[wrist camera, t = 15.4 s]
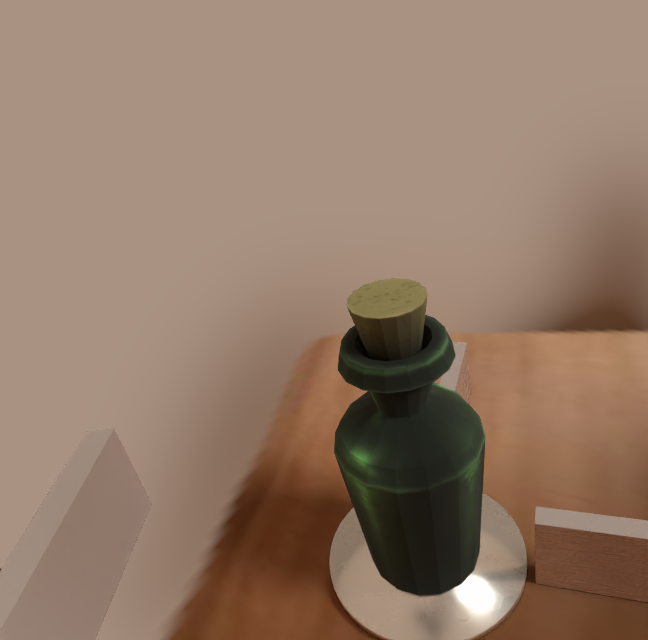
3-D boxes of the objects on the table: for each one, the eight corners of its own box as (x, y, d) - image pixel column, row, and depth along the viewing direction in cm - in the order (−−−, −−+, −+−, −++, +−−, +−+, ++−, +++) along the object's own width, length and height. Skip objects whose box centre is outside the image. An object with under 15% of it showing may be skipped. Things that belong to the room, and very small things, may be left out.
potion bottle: (375, 627, 33) (312, 363, 25) (349, 516, 40) (294, 280, 32) (516, 592, 34) (504, 318, 25) (466, 488, 41) (443, 246, 32)
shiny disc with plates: (463, 387, 51) (459, 338, 48) (774, 587, 32) (794, 522, 29) (265, 499, 44) (248, 448, 41) (511, 841, 25) (507, 784, 22)
